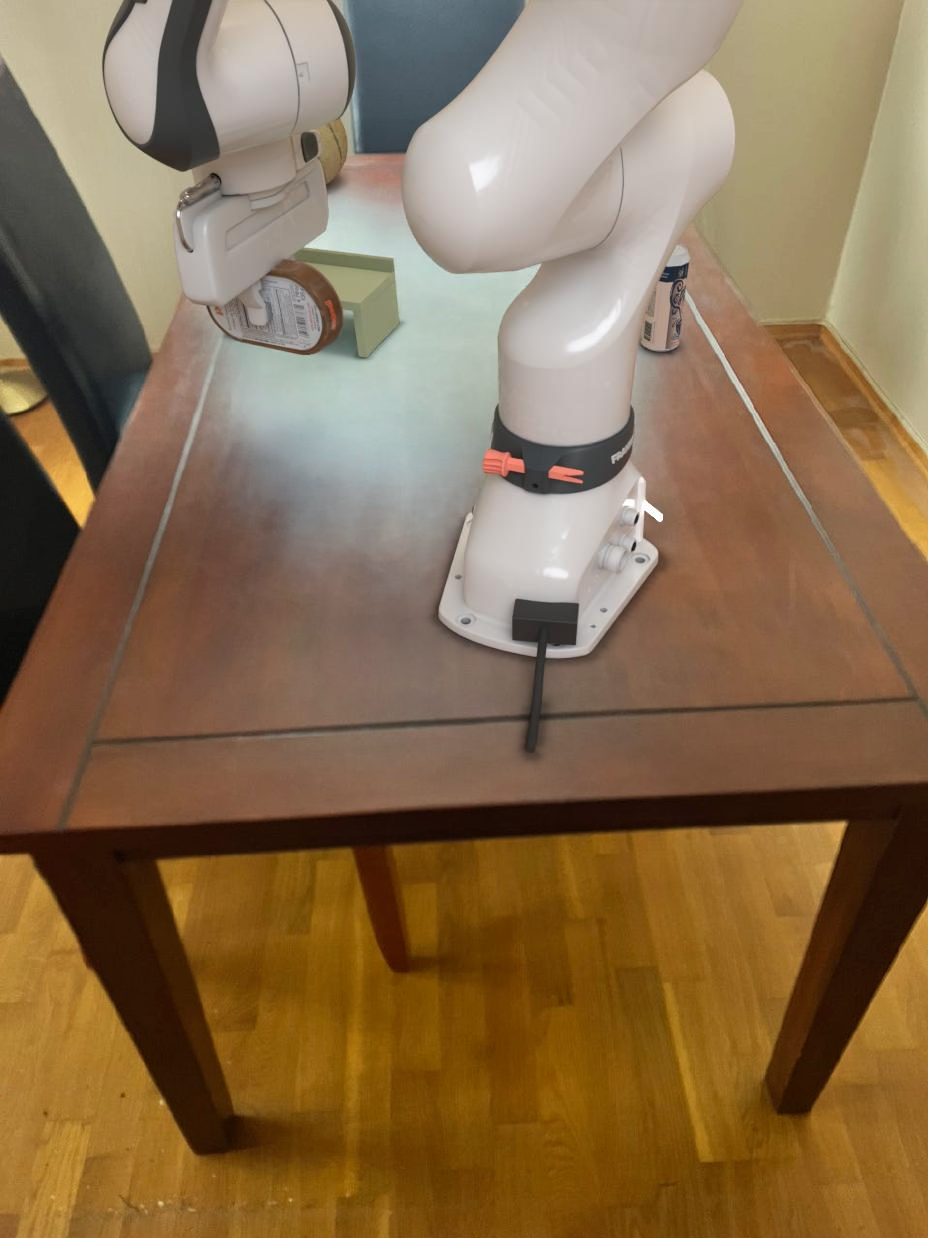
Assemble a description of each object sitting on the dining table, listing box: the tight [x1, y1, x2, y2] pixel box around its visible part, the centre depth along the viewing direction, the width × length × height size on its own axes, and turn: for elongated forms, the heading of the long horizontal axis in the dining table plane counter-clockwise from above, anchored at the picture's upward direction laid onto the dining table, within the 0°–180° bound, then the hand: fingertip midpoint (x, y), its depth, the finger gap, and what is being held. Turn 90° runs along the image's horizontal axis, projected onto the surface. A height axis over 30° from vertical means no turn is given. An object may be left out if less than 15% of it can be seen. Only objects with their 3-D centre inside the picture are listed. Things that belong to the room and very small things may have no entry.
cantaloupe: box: [314, 118, 349, 185], centre depth 159 cm, size 15×15×15 cm
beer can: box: [640, 243, 691, 353], centre depth 112 cm, size 5×5×12 cm
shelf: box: [294, 246, 400, 359], centre depth 120 cm, size 10×20×9 cm, turn 68°
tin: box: [205, 259, 344, 356], centre depth 88 cm, size 15×3×8 cm, turn 62°
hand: (273, 313), depth 89 cm, fingers closed on tin, 2 cm apart
